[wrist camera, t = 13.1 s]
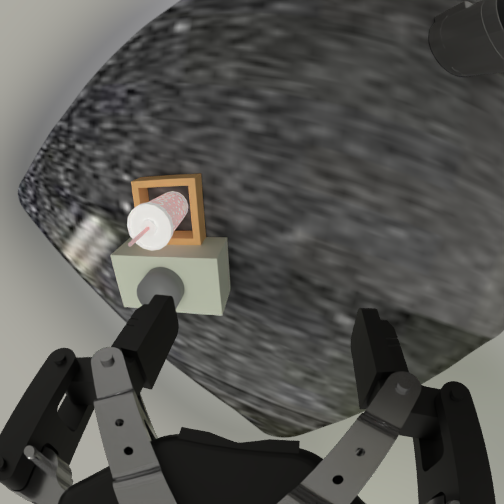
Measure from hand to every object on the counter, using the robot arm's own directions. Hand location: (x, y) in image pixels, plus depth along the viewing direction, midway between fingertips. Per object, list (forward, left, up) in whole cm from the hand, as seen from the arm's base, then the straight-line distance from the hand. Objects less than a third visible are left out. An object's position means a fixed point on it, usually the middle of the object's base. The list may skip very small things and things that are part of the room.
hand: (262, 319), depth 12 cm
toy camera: (+8, -16, -30) cm, 35 cm away
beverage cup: (+4, -15, -30) cm, 34 cm away
